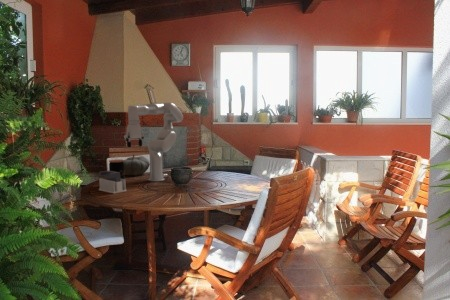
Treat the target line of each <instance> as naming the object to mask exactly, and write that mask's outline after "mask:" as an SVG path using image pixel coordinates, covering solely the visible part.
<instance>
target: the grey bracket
mask: <svg viewBox="0 0 450 300" xmlns="http://www.w3.org/2000/svg"><path fill="white" fill-rule="evenodd" d="M98 173H99V174H98V175H99V176H104V179H106V180H111V181H115V182H120V172H114V171H109V170H102V171H99V172H98Z"/></svg>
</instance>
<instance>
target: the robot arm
mask: <svg viewBox="0 0 450 300" xmlns="http://www.w3.org/2000/svg"><path fill="white" fill-rule="evenodd" d="M127 114H128V115H127V117H128V125H127V128H126V134H124V135H123V137H124V140H125V142H127V143H126V144H127V145H126V146H127V148H131V147H132V142H131V141H132V139H135V140H137V139H138V146H139V147H142V146H143V140H144V138H145V133H143V132H142V127H141V124H140V123H141V120H140V116H146V115H149V116H152V115H153V116H154V115H162V114H163V126H162V128H161V129H160V130H159V132H158V133H156V134H157V135H156V139H154V138H153V139H150V140H149V141H148V142H147V149H148V153H149V164H150V165H149V178H148V179H147V180H148V181H149V182H162V181H165V178H166V177H168V173H163V156H162V153H167V152H169V150H170V149H171V148H172V147H173V145H174V144H175V143H176V141H177V133H176V132H175V131H174V130H175V129H174V126H173V123H182V121H183V120H184V115H183V113H182V111H181V110H180V108H178V106H177V105H176V104H175V103H173V102H154V103H147V104H136V105H129V106H128V107H127ZM164 177H165V178H164Z"/></svg>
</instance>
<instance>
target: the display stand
mask: <svg viewBox="0 0 450 300" xmlns="http://www.w3.org/2000/svg"><path fill="white" fill-rule="evenodd" d="M98 180H99V182H98V183H99V188H98V191H101V192H105V193H109V194H119V193H124V192H127V190H128V189H127V188H126V187H127V186H126V185H127V184H126V181H127V180H126V178H125V179H120V182H115V181H111V180H106V179H105V178H99V179H98Z"/></svg>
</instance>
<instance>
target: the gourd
mask: <svg viewBox="0 0 450 300" xmlns="http://www.w3.org/2000/svg"><path fill="white" fill-rule="evenodd" d="M123 160H124V162H123V163H124V176H129V177H130V176H131V177H132V176H141V175H143V174H145V173H146V172H147V171H148V170H149V169H150V159H148V158H147V157H145V156H143V155H141V156H140V155H139V156H135V154H132V156H130V157H127V158H126V159H123Z"/></svg>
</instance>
